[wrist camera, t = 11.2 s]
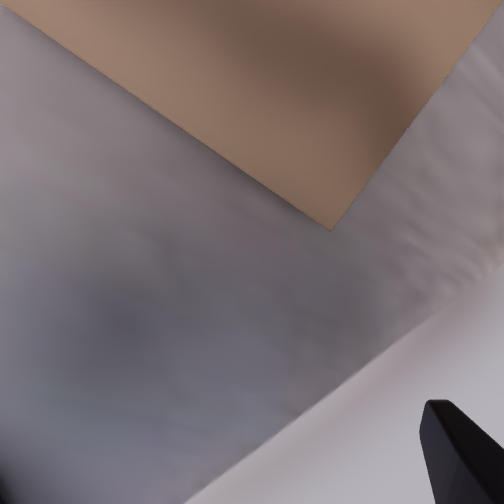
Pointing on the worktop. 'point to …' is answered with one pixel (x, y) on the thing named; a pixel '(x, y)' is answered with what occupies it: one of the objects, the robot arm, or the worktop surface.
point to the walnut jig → (276, 77)
